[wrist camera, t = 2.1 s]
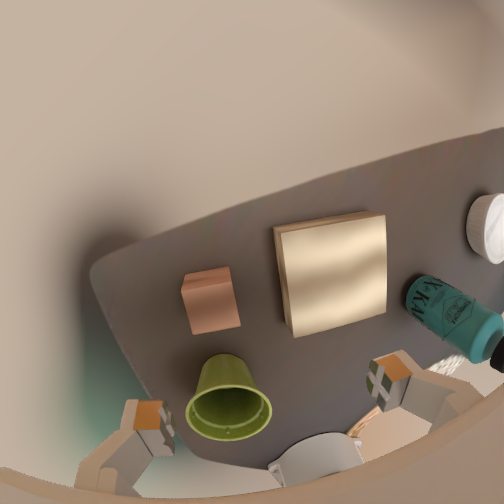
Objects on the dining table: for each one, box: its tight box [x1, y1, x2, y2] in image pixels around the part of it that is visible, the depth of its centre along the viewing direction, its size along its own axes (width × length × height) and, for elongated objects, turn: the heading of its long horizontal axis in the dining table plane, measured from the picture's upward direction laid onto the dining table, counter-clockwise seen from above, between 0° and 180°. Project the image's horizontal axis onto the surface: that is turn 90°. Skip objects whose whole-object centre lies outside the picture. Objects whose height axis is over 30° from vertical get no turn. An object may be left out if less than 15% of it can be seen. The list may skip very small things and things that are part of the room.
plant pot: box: [186, 354, 272, 441], centre depth 31 cm, size 9×9×9 cm
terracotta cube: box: [181, 266, 241, 335], centre depth 30 cm, size 5×5×5 cm
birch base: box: [273, 211, 387, 338], centre depth 32 cm, size 12×12×4 cm
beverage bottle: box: [406, 275, 504, 373], centre depth 27 cm, size 6×7×20 cm
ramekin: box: [466, 193, 504, 264], centre depth 34 cm, size 11×11×5 cm
